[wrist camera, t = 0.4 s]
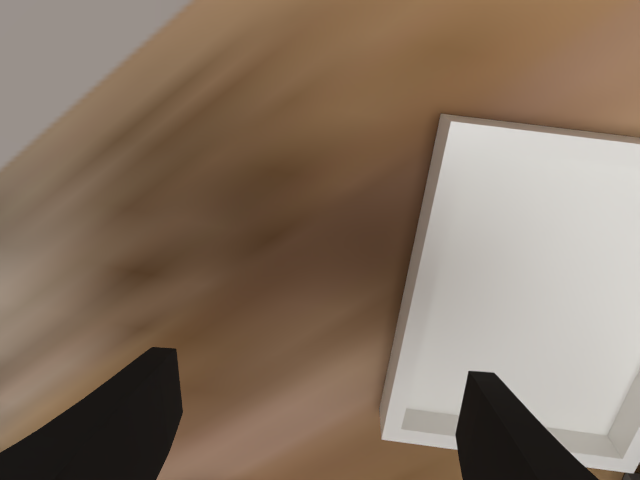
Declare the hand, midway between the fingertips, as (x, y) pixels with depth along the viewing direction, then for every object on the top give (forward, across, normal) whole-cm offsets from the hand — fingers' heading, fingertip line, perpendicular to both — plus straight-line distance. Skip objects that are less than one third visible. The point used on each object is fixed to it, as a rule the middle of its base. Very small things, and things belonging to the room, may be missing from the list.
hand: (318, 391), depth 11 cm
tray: (+10, -9, +2) cm, 14 cm away
